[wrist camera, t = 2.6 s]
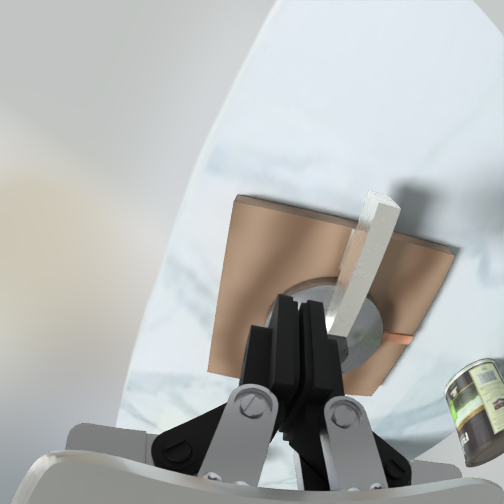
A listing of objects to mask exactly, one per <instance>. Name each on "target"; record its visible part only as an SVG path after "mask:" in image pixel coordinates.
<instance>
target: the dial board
mask: <svg viewBox="0 0 504 504" xmlns="http://www.w3.org/2000/svg"><path fill="white" fill-rule="evenodd" d="M357 224H358V222H356V221H352V220H348V219H344V218H340V217H335V216H331V215H327V214H323V213H319V212H315V211H310V210H306V209H302V208H297V207H293V206H288V205H284V204H279V203H275V202H270V201H265V200H261V199H256V198H251V197H246V196H241V195H237V196H236V198H235V200H234V203H233V209H232V215H231V221H230V227H229V233H228V239H227V245H226V251H225V257H224V263H223V270H222V276H221V282H220V289H219V295H218V302H217V308H216V315H215V322H214V329H213V335H212V342H211V349H210V356H209V364H208V371H207V372H211V373H215V374H220V375H224V376H229V377H234V378H239V379H240V375H241V369H242V363H243V357H244V352H245V347H246V343H247V338H248V334H249V330H250V327H251V325H256V326H261V327H264V322H265V317H266V314H267V311H268V309H269V307H270V306H271V304H272V303H273V302H274V300H275V299H276V298H277V295H278V294H281V293H283V292H284V291H285V290H287V289H289V288H290V287H292V286H294V285H296V284H299V283H301V282H304V281H307V280H312V279H317V278H338V277H339V275H340V272H341V269H342V266H343V264H344V261H345V258H346V256H347V253H348V250H349V247H350V244H351V241H352V239H353V236H354V233H355V230H356V227H357ZM454 258H455V255H454V254H453V253H452V252H451V250H450V249H449V248H448V247H446V246H443V245H440V244H436V243H433V242H429V241H426V240H422V239H419V238H415V237H412V236H408V235H405V234H401V233H397V232H394V231H393V233H392V235H391V238H390V241H389V243H388V246H387V248H386V251H385V253H384V256H383V258H382V261H381V263H380V266H379V268H378V270H377V273H376V275H375V277H374V280H373V282H372V284H371V287H370V289H369V291H368V293H369V294H370V295H371V296H372V297H373V299H374V301H375V302H376V305H377V307H378V310H379V313H380V316H381V319H382V323H383V335H382V339H381V342H380V344H379V346H378V348H377V349H376V351H375V352H374V354H373V355H372V356H371V357H370V358H369V359H368V360H367V361H366V362H364V363H363V364H362V365H360V366H359V367H357V368H355V369H354V370H351V371H349V372H347V373H344V374H342V378H343V386H344V394H348V395H360V396H372V395H373V394H374V392H375V391H376V389H377V388H378V387H379V385H380V384H381V383H382V381H383V380H384V378H385V377H386V376H387V374H388V373H389V371H390V370H391V368H392V367H393V365H394V364H395V362H396V361H397V359H398V358H399V356H400V355H401V353H402V352H403V350H404V349H405V347H406V346H407V344H410V342H411V340H412V339H413V337H414V336H413V334H414V333H415V331H416V329H417V328H418V326H419V324H420V323H421V321H422V319H423V317H424V316H425V314H426V312H427V310H428V309H429V307H430V305H431V303H432V301H433V300H434V298H435V296H436V294H437V292H438V290H439V288H440V286H441V284H442V282H443V280H444V278H445V276H446V274H447V272H448V270H449V268H450V266H451V264H452V262H453V260H454Z"/></svg>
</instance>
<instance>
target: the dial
mask: <svg viewBox="0 0 504 504" xmlns="http://www.w3.org/2000/svg"><path fill="white" fill-rule="evenodd" d="M400 211H401V208H400V207H399V206H398V205H397V204H396V203H395V202H394V201H393V200H392V199H391V198H390V197H389V196H387V195H384V194H381V193H377V192H374V191H370V190H368V193H367V196H366V199H365V202H364V206H363V209H362V212H361V215H360V218H359V221H358V224H357V227H356V230H355V233H354V236H353V239H352V241H351V244H350V247H349V250H348V253H347V256H346V258H345V261H344V264H343V266H342V269H341V272H340V275H339V277H338V278H317V279H312V280H307V281H304V282H301V283H299V284H296V285H294V286H292V287H290V288H289V289H287V290H285V291H284V292H283V293H281V294H283V295H288V296H293V301H298V310H299V307H300V305H301V303H302V302H303V303H306V302H307V300H313V301H319V302H323V306H324V313H325V320H326V328H327V336H328V338H329V339H335V340H336V341H337V344H338V350H339V356H340V363H341V371H342V374H344V373H347V372H349V371H351V370H354V369H355V368H357V367H359V366H360V365H362V364H363V363H364V362H366V361H367V360H368V359H369V358H370V357H371V356H372V355H373V354H374V352H375V351H376V349H377V348H378V346H379V344H380V342H381V339H382V335H383V323H382V319H381V316H380V313H379V310H378V307H377V305H376V302H375V301H374V299H373V297H372V296H371V295H370V294H369V293H368V291H369V289H370V287H371V284H372V282H373V280H374V277H375V275H376V273H377V270H378V268H379V266H380V263H381V261H382V258H383V256H384V253H385V251H386V248H387V246H388V243H389V241H390V238H391V235H392V233H393V230H394V227H395V225H396V222H397V219H398V217H399V214H400ZM275 302H276V299H275V300H274V302H273V303H272V304H271V306H270V307H269V309H268V311H267V314H266V317H265V322H264V327H266V328H268V326H269V322H270V319H271V315H272V312H273V309H274V305H275Z"/></svg>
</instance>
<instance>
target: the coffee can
mask: <svg viewBox="0 0 504 504" xmlns="http://www.w3.org/2000/svg"><path fill="white" fill-rule="evenodd" d="M444 396H445V398H446V400H447V403H448V406H449V409H450V411H451V414H452V417H453V420H454V423H455V426H456V429H457V432H458V435H459V439H460V442H461V446H462V449H463V453H464V456H465V460H466V461H465V463H466V466H467V467H475V466H479V465H482V464H484V463H486V462H489V461H491V460H493V459H495V458H496V457H498V456H500V455H501V454H503V453H504V379H503V377H502V375H501V373H500V371H499V370H498V368H497V366H496V363H495V361H493V360H492V359H483V360H479V361H476V362H474V363H472V364H470V365H468V366H467V367H465V368H464V369H462V370H461V371H460V372H458V373H457V374H456V375H455V376H454V377H453V378H452V379H451V380H450V381H449V383H448V384H447V386H446V388H445V391H444Z"/></svg>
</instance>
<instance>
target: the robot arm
mask: <svg viewBox="0 0 504 504" xmlns="http://www.w3.org/2000/svg"><path fill="white" fill-rule="evenodd" d="M278 429H279V432H283V440H284V441H289V445H290V446H291V447H292V448H293V449H294V463H295V470H296V477H297V485H298V490H284V489H272V488H262V487H257V485H258V482H259V479H260V475H261V472H262V468H263V465H264V461H265V458H266V454H267V450H268V447H269V443H271V441H272V439H273V437H274V436H275V434H276V432H277V431H278ZM11 504H504V491H503V489H502V488H501V487H500V486H499V485H498V484H496V483H494V482H492V481H489V480H485V479H480V478H462V473H461V472H460V470H459V468H457V467H456V466H454V465H452V464H444V463H434V462H426V461H419V460H412V461H410V462H409V461H407V460H406V458H405V457H404V456H402V455H401V454H400V453H399V452H397V451H396V450H395V449H394V448H392V447H391V446H390V445H389V444H387V443H386V442H385V441H384V440H382V439H381V438H380V437H379V436H378V435H376V434H375V433H374V432H373V431H372V430H371V426H370V423H369V420H368V417H367V414H366V411H365V409H364V407H363V406H362V405H361V404H360V403H359V402H358V401H356V400H355V399H353V398H350V397H347V396H345V394H344V386H343V378H342V371H341V363H340V356H339V350H338V344H337V341H336V340H335V339H329V338H328V336H327V328H326V320H325V313H324V306H323V302H319V301H313V300H307V302H306V303H303V302H302V303H301V305H300V307H299V310H298V301H293V296H288V295H283V294H278V295H277V298H276V302H275V305H274V309H273V312H272V315H271V319H270V322H269V326H268V328H266V327H261V326H256V325H251V327H250V330H249V334H248V338H247V343H246V347H245V352H244V357H243V363H242V369H241V375H240V381H239V387H237V388H236V389H235V390H233V392H232V393H231V395H230V397H229V399H228V402H227V403H225V404H223V405H221V406H219V407H217V408H215V409H213V410H211V411H209V412H207V413H205V414H203V415H201V416H198V417H196V418H194V419H192V420H190V421H188V422H186V423H183V424H181V425H179V426H177V427H174V428H172V429H170V430H168V431H165V432H163V433H162V434H160V435H157V434H147V433H146V431H139V430H130V429H122V428H115V427H108V426H102V425H95V424H90V423H81V424H78V425H76V426H74V427H73V428H72V429H71V430H70V432H69V435H68V437H67V443H66V449H65V450H60V451H53V452H49V453H46V454H44V455H43V456H41V457H40V458H38V459H37V460H36V462H35V463H34V464H33V465H32V466H31V468H30V469H29V470H28V472H27V473H26V475H25V477H24V478H23V480H22V482H21V484H20V486H19V488H18V490H17V492H16V494H15V496H14V498H13V501H12V503H11Z"/></svg>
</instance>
